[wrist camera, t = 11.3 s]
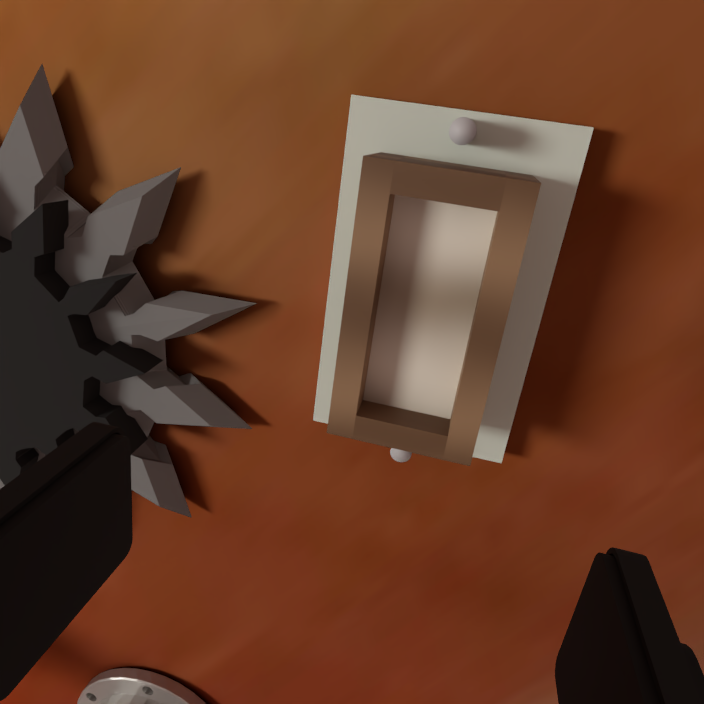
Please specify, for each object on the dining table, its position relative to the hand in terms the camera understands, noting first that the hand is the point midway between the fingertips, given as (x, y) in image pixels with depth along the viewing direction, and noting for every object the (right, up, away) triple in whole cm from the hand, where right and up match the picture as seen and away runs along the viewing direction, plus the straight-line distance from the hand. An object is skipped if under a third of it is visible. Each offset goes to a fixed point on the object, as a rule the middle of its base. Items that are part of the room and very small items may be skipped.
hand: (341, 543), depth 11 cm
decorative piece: (-19, +5, +23) cm, 30 cm away
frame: (+4, +6, +15) cm, 17 cm away
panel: (+4, +7, +16) cm, 18 cm away
